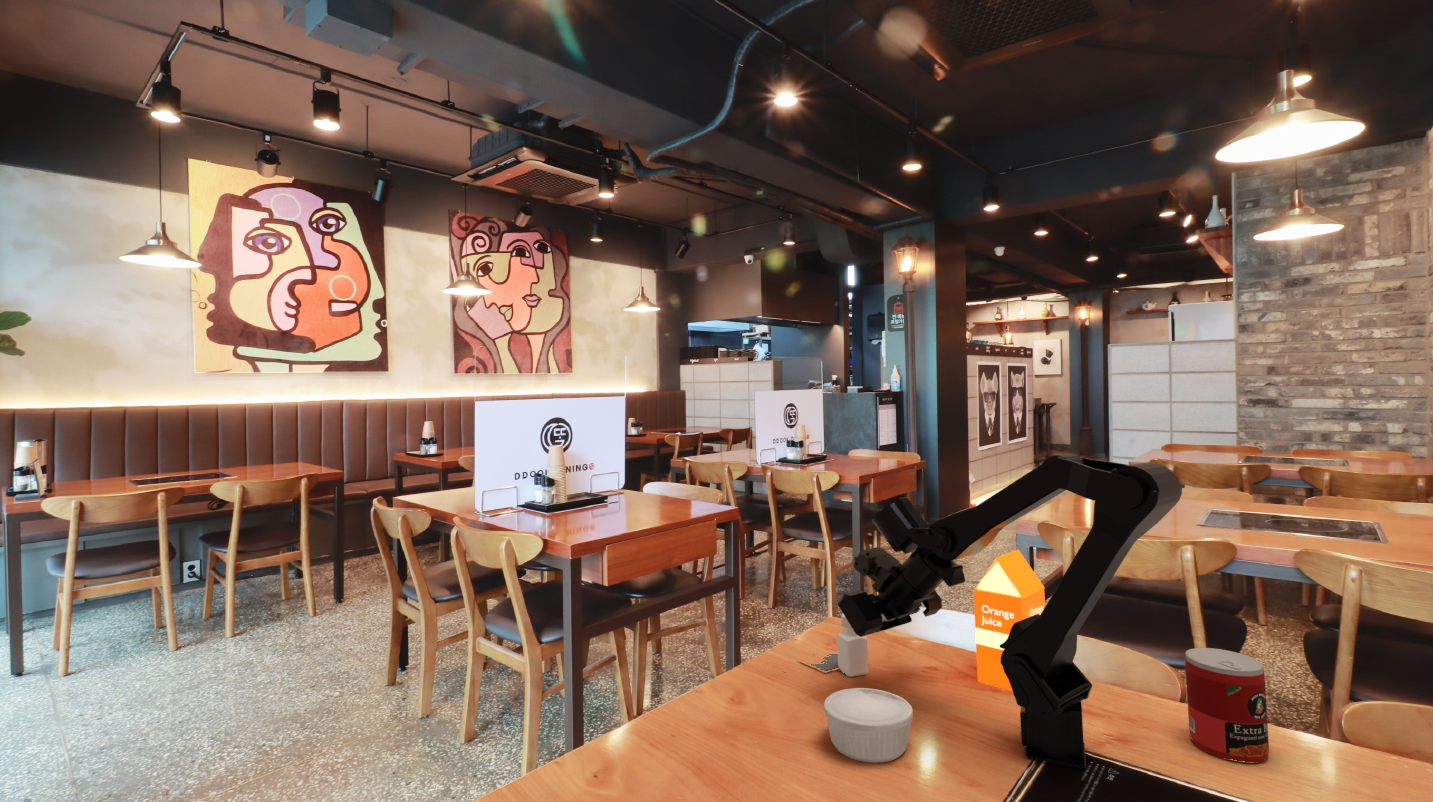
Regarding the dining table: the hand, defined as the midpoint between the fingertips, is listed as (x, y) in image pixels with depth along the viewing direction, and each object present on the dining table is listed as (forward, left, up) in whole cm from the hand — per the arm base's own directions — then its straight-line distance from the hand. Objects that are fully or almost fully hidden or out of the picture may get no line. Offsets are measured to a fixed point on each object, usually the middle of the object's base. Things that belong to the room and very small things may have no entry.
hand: (864, 632), depth 105 cm
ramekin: (-6, +21, -8) cm, 23 cm away
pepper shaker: (+3, -1, -8) cm, 8 cm away
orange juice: (-21, -8, -8) cm, 24 cm away
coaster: (+8, -4, -7) cm, 12 cm away
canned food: (-46, +4, -8) cm, 47 cm away
